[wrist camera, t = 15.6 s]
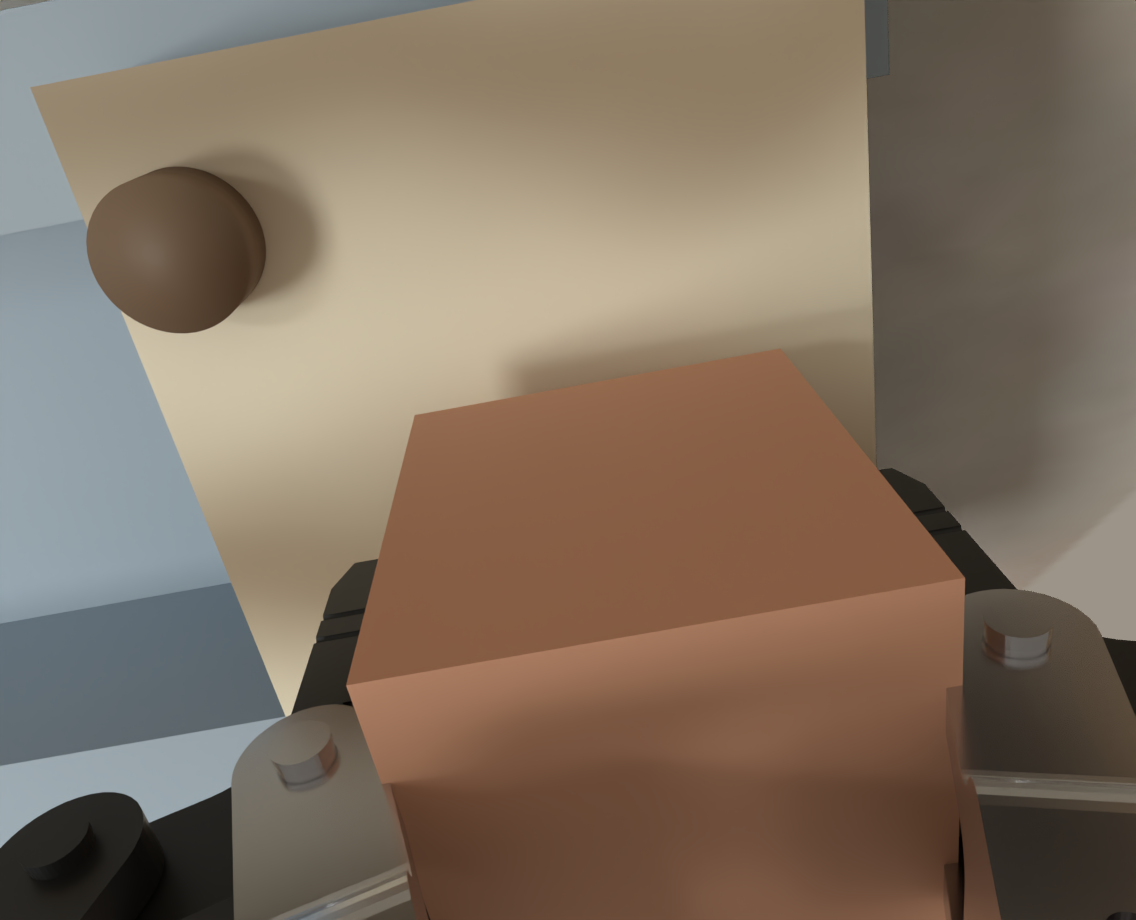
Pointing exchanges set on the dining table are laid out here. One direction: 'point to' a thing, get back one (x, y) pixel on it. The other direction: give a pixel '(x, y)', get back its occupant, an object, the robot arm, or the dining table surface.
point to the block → (662, 658)
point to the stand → (118, 455)
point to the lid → (462, 241)
